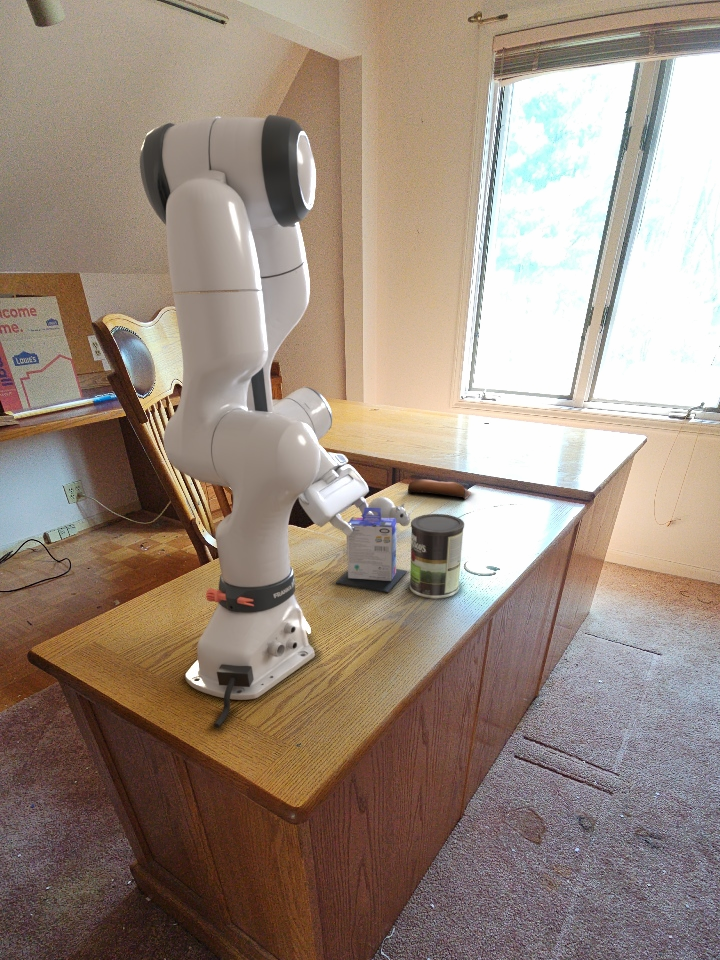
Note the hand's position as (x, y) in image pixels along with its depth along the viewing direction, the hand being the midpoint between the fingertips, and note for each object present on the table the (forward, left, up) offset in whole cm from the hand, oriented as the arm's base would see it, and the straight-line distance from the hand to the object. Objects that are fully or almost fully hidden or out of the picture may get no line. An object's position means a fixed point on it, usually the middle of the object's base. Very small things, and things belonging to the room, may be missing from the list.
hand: (361, 525), depth 116 cm
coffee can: (0, -16, -12) cm, 20 cm away
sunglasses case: (+62, +2, -12) cm, 63 cm away
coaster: (0, -2, -11) cm, 12 cm away
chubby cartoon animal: (+27, +5, -12) cm, 30 cm away
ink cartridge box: (0, -2, -11) cm, 11 cm away
